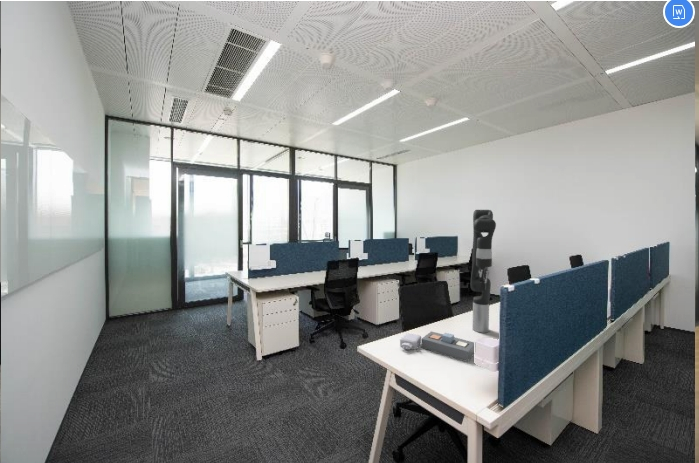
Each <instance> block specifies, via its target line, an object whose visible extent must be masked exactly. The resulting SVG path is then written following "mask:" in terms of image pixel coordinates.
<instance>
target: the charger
mask: <svg viewBox="0 0 699 463" xmlns="http://www.w3.org/2000/svg"><path fill="white" fill-rule="evenodd" d="M421 339H422V336H421V335H419V334H414V333H410V332H406V333H404V334H402V336H401V337H400V339H399V346H400V347H401V348H402V349H404V350H417V349H418V348H419V346H420V345H421Z"/></svg>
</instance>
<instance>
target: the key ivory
mask: <svg viewBox="0 0 699 463" xmlns="http://www.w3.org/2000/svg"><path fill="white" fill-rule="evenodd" d="M456 345H457V346H461V347H464V348H466V347H467V346H468V343H464V342H460V341H458V342H457V343H456Z"/></svg>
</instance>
